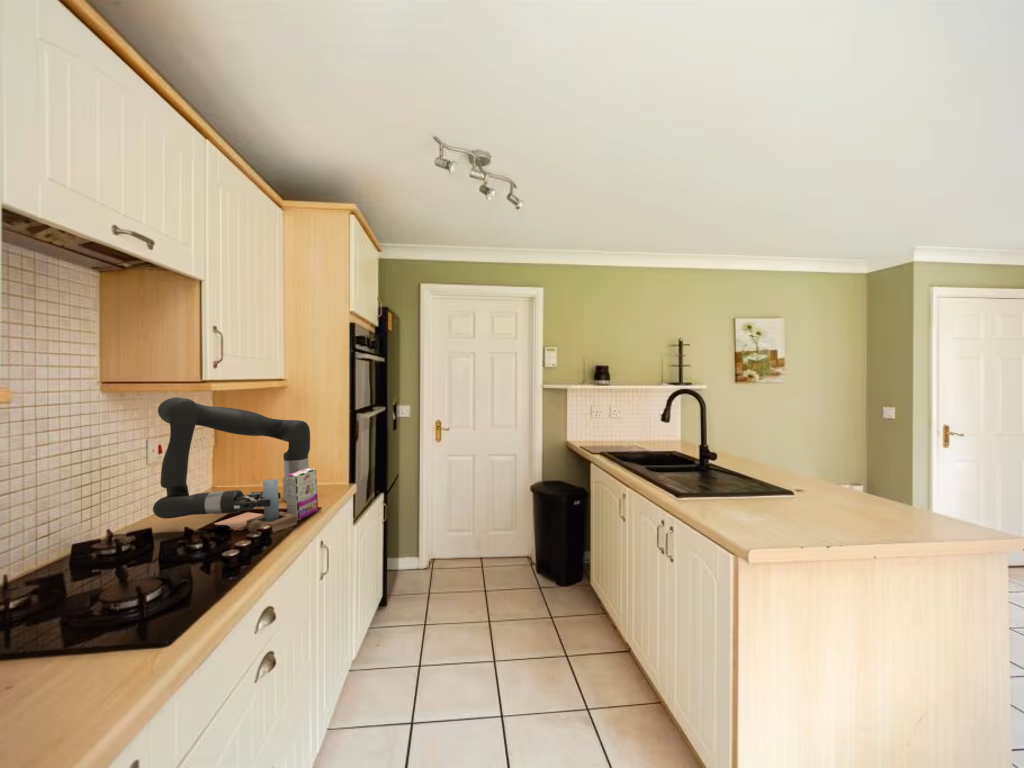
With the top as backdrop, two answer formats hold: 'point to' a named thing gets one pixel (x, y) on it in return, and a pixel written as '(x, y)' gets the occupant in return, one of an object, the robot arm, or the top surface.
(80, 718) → the top surface
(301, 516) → the candy bar box
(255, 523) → the pocket block
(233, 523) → the terracotta tile
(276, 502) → the slate peg
